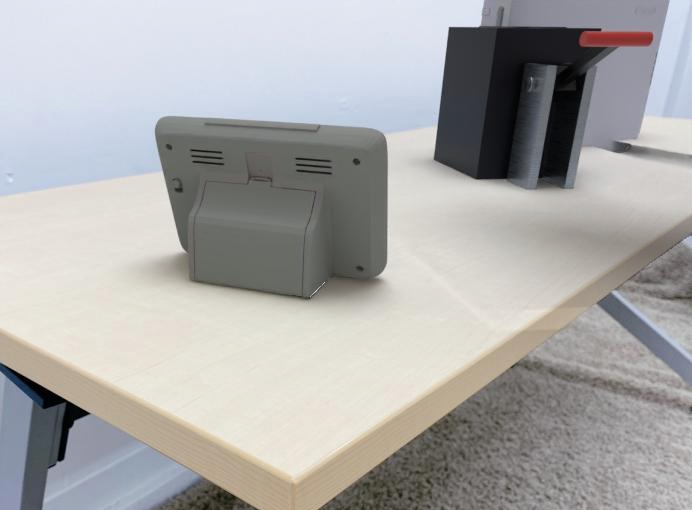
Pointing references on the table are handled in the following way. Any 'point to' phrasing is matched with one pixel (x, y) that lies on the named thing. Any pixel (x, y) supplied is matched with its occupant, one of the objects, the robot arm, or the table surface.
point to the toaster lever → (595, 56)
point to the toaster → (493, 92)
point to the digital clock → (276, 200)
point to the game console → (614, 70)
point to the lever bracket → (563, 132)
